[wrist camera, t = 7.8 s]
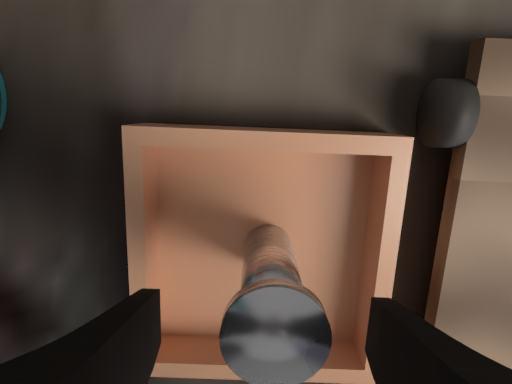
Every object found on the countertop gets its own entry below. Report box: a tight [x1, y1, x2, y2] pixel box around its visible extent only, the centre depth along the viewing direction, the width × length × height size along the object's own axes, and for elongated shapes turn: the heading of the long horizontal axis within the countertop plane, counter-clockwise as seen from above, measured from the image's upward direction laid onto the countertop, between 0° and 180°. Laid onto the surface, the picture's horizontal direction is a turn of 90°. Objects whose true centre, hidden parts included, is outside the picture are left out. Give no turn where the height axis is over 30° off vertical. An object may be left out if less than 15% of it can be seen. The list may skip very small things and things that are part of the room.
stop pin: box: [219, 224, 332, 384], centre depth 14 cm, size 3×3×8 cm
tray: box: [121, 123, 414, 384], centre depth 17 cm, size 12×12×3 cm
